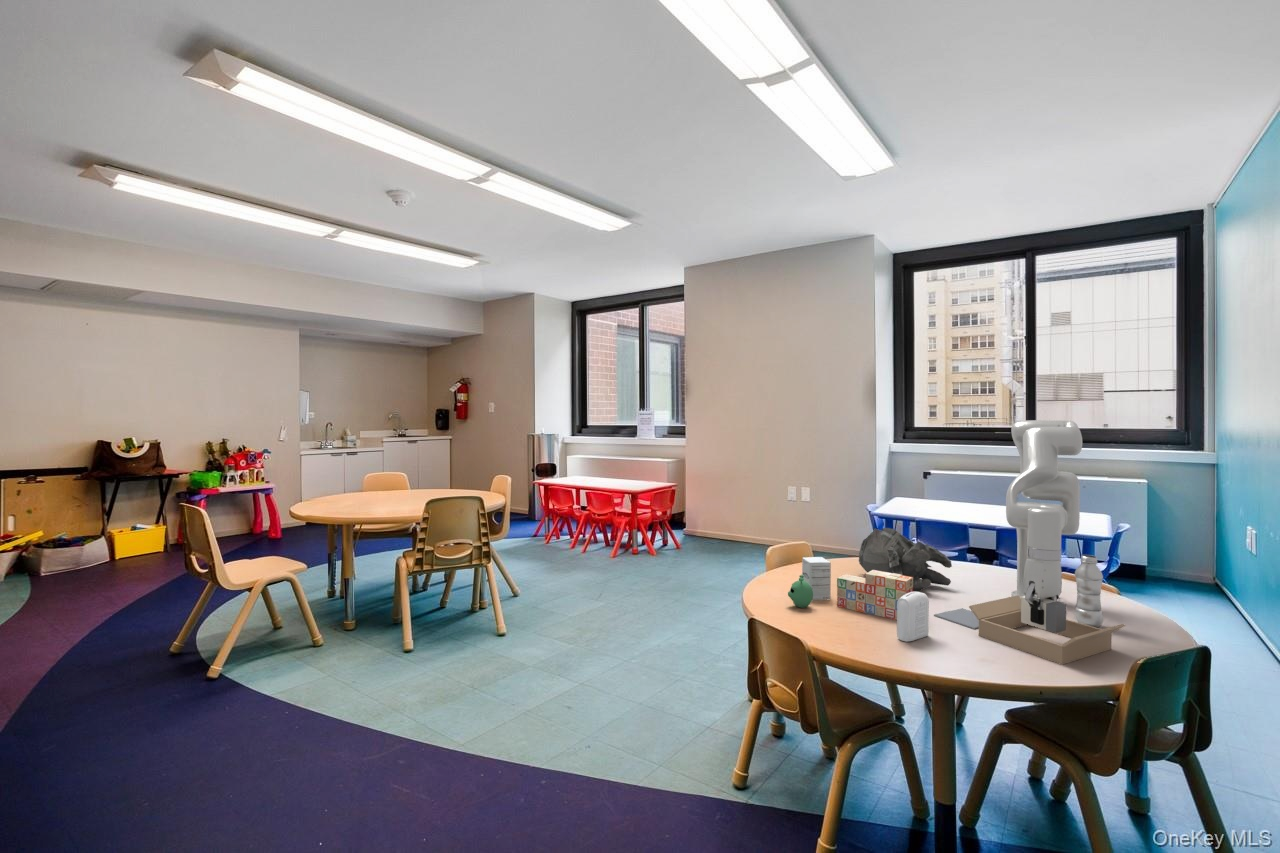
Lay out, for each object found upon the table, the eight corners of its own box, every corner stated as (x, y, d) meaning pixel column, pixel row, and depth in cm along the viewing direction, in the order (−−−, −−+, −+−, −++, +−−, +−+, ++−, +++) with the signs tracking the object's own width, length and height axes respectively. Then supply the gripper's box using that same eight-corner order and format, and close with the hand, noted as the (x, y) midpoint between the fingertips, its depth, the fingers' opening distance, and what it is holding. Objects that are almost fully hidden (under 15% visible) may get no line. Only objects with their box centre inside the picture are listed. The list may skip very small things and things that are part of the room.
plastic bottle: (1095, 630, 171) (1096, 560, 170) (1069, 623, 177) (1070, 555, 176) (1107, 627, 174) (1108, 557, 173) (1081, 619, 180) (1082, 552, 179)
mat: (962, 609, 190) (962, 608, 190) (1003, 622, 178) (1003, 620, 178) (933, 615, 184) (933, 614, 184) (973, 629, 172) (973, 628, 172)
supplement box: (801, 594, 206) (801, 557, 206) (822, 593, 207) (822, 556, 207) (809, 600, 199) (809, 562, 199) (831, 600, 200) (831, 561, 199)
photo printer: (916, 631, 171) (916, 587, 171) (931, 635, 167) (931, 591, 167) (894, 638, 165) (894, 593, 165) (908, 643, 162) (909, 597, 161)
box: (1031, 619, 168) (1031, 594, 168) (1065, 630, 160) (1066, 603, 159) (1021, 622, 166) (1021, 596, 166) (1055, 633, 158) (1056, 606, 157)
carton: (1016, 620, 180) (1016, 594, 179) (1124, 653, 155) (1125, 623, 155) (968, 632, 170) (968, 605, 170) (1075, 669, 145) (1075, 637, 145)
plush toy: (958, 594, 206) (959, 536, 206) (881, 593, 206) (882, 536, 206) (922, 572, 233) (922, 521, 233) (854, 572, 234) (854, 521, 233)
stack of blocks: (836, 606, 193) (836, 568, 193) (844, 602, 198) (845, 564, 197) (905, 622, 179) (906, 580, 178) (913, 617, 183) (913, 576, 183)
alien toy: (788, 602, 197) (788, 572, 197) (813, 604, 195) (813, 573, 194) (787, 609, 190) (787, 577, 190) (812, 611, 188) (812, 579, 188)
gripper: (1048, 547, 169) (1047, 612, 170) (1010, 554, 162) (1009, 622, 162) (1077, 553, 162) (1076, 620, 163) (1039, 561, 155) (1038, 631, 156)
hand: (1043, 620), depth 163 cm, fingers closed on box, 4 cm apart
